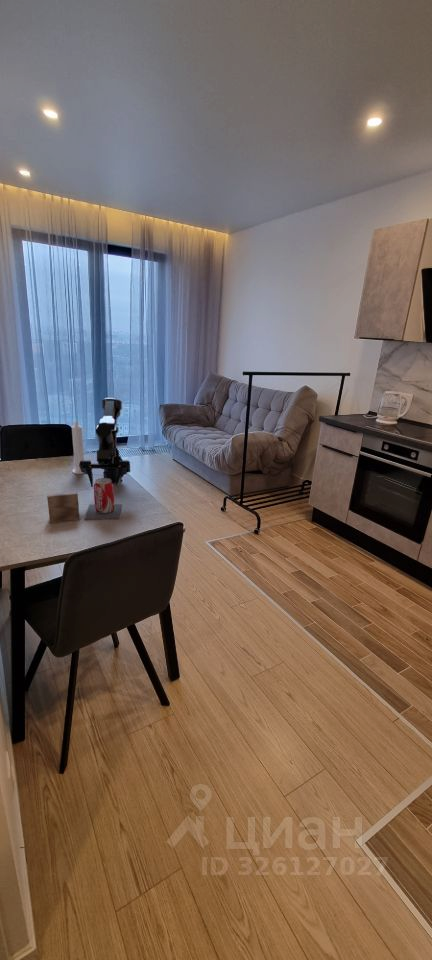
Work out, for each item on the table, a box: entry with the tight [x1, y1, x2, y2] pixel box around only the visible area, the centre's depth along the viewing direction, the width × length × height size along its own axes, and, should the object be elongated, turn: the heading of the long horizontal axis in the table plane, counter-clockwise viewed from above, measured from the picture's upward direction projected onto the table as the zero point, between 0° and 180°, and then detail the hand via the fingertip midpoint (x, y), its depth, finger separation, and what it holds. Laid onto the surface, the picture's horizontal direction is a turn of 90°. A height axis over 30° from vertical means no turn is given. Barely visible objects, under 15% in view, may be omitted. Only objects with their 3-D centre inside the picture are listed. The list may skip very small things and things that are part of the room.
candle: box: [71, 419, 85, 475], centre depth 183 cm, size 7×7×25 cm
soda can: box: [93, 477, 115, 513], centre depth 145 cm, size 7×7×12 cm
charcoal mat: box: [84, 503, 122, 521], centre depth 147 cm, size 12×12×1 cm
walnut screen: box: [46, 491, 81, 524], centre depth 139 cm, size 10×4×9 cm, turn 112°
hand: (104, 486), depth 149 cm, fingers open, 9 cm apart
